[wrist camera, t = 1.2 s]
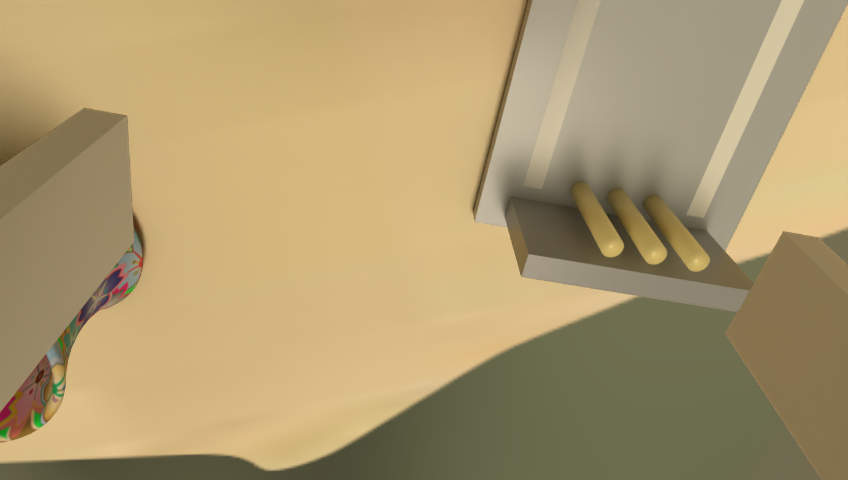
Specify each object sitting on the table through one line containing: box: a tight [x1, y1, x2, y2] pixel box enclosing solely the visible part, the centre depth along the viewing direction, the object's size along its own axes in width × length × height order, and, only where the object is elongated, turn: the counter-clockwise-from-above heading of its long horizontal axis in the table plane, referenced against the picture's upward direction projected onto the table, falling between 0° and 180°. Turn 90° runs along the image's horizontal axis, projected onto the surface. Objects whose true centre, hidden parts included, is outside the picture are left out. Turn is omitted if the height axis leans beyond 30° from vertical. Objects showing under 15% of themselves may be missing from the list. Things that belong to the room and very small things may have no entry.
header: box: [473, 0, 848, 312], centre depth 28 cm, size 16×14×7 cm
